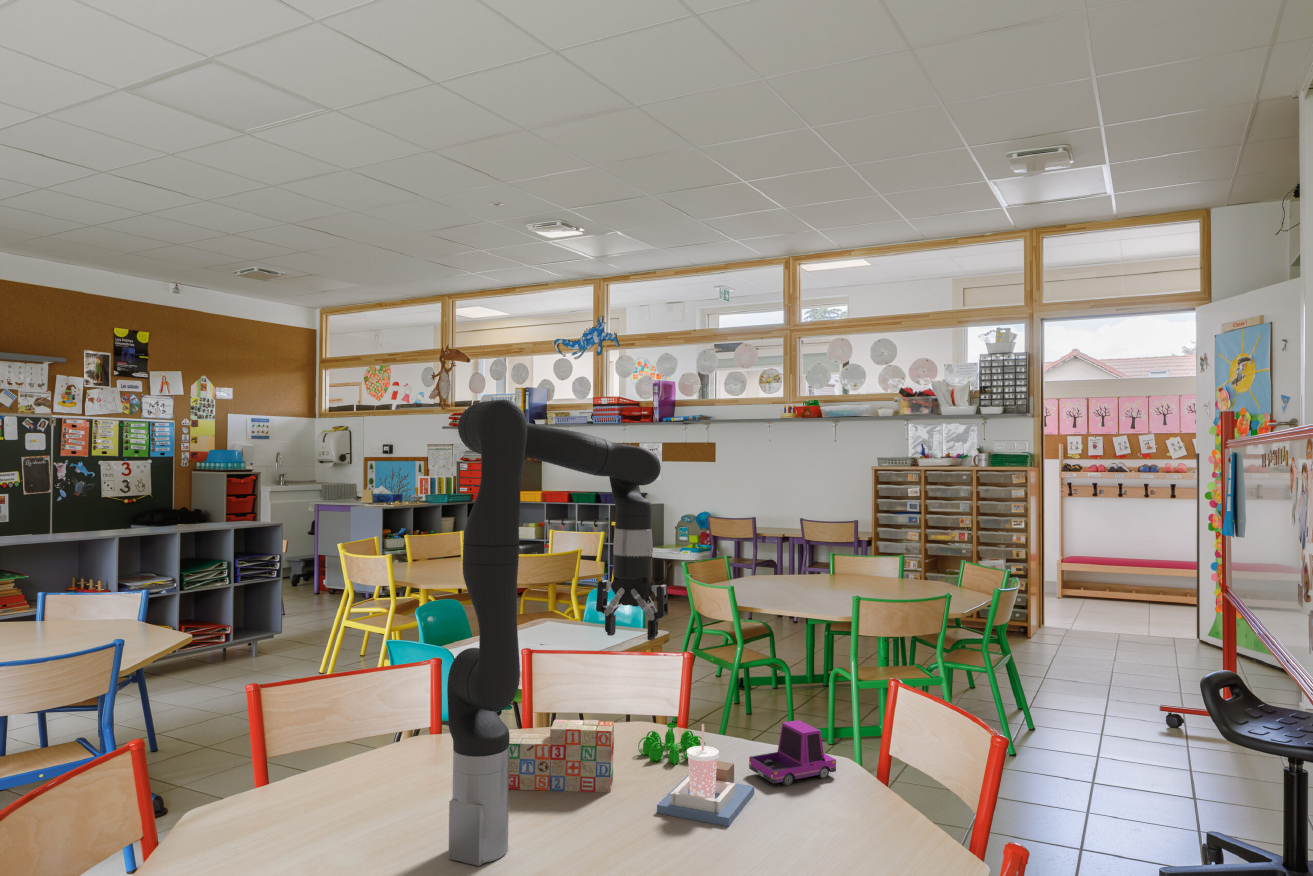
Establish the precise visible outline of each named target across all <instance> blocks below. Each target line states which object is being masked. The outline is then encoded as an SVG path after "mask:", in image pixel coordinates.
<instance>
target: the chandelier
mask: <svg viewBox="0 0 1313 876" xmlns="http://www.w3.org/2000/svg"><path fill="white" fill-rule="evenodd" d="M666 727H667V729H668V730H667V731H666V732H665V735H664V740H665V741H664V742H662V738H661V735H660V734H659V732H657V731H656V730H650V731H648V732H647V733H646V736H644V737H642V738H641V739H640V740H639V742H638V745H637V747H638V748H637V749H638V751H639V753H640V755H642V756H645V755H647V756H648V758H649V761H650V762H652V763H655V762H656V761H661V759H662V758H663V753H664V751H665V750H666V749H668V750H669V751H668V761H669V763H672V764H673V766H674V765H675V766H676V765H677V764H676V763H679V761H680V751H679V750H682V755H683V757H684V758H685V760H687V761H688V757H687V749H689V748H690V747H694V746H702V742H701V740H702V736H701V735H694V733H693V731H692V730H689V729H687V730H685V731H683V733H682V734H681V737H680V741H679V742H677V743H675V740H676V739H675V737H676V736H675V732H674V729H675V728H677V727H678V724H677V723H676V722H669V723H666ZM642 741H643V743H642V751H641V749H640V744H641V742H642ZM704 746H707V745H706V742H705V740H704ZM664 747H665V748H664Z"/></svg>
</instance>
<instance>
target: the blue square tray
mask: <svg viewBox="0 0 1313 876" xmlns="http://www.w3.org/2000/svg"><path fill="white" fill-rule="evenodd" d="M754 795H755V785H749V784H743V783H739V782H735V763H733V762H729V761H727V762H726V761H721V760H717V769H716V785H715V799H712V798H706V797H701V796H695V795H690V782H689V774H688V775H686V776H685V777H684V778H683V779H682V780H681V781H680V782H679V783H678V784H677V785H676V786H675V787H674V788H673V789H672V790H671V791H669V793H667V795H665V796H664V798H662V799H661V801H659V802H658V803H657V804H656V813H657V814H661V815H665V816H671V817H676V818H682V819H687V820H692V821H698V822H703V823H707V824H714V825H718V826H725V827H730V826H731V824H732V823H733V822H734V821H735V819H736V818H737V817H738V815H739V814H740V813H741V812H742V811H743V809H744V808H745V806H746V805H747V804H748V803H749V802H750V800H751V799H752V798H753V796H754Z"/></svg>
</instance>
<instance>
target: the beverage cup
mask: <svg viewBox="0 0 1313 876" xmlns="http://www.w3.org/2000/svg"><path fill="white" fill-rule="evenodd" d="M701 738H702V739H701V746H694V747H690V748H689V749H687V757H688V760H687V761H688V775H689V782H690V795H695V796H701V797H706V798H712V799H715V785H716V769H717V761H718V758H719V756H720V755H719V754H720V751H719V750H718V749H717V748H716V747H713V746H709V745H706V746H704V741H705V724H704V723H702V724H701Z"/></svg>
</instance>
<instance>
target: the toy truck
mask: <svg viewBox="0 0 1313 876" xmlns="http://www.w3.org/2000/svg"><path fill="white" fill-rule="evenodd" d="M780 729H781V730H780V733H779V734H780V735H779V739H778V748H777V751H774V752H770V753H769V752H768V753H762V754H759V755H758V754H757V755H751V756H749V759H748V760H749V762H748V769H750V770H751V771H752V772H754V773H756V774H757V775H758V776H760V777H761V778H764V779H766V780H767V781H769V782H770V783H772V784H778V783H781V784H782V785H783V786H784V787H789V786H791V785H792V784H793V783H794V780H798V779H804V778H809V777H813V776H817V777H818V779H821V780H826V779H827V778H828V777H829V773H836V772H837V759H836V758H834V757H832V756H830V755H828V754H827V753H825V752H824V746H823V740H822V739H823V738H822V732H821V730H820V729H818V728H816V727H814V726H812V725H809V724H808V723H806V722H804V721H801V720H800V719H798V720H791V721H785V722H782V723H781V728H780Z"/></svg>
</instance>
